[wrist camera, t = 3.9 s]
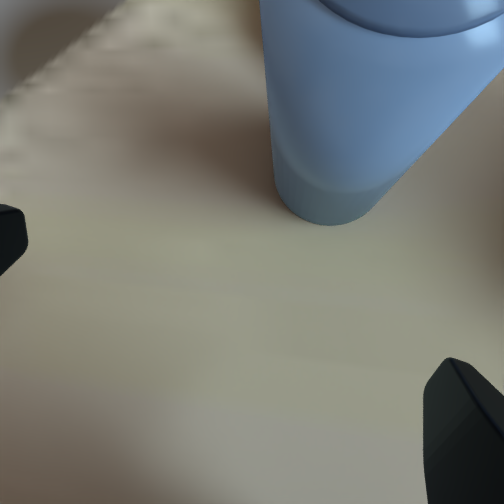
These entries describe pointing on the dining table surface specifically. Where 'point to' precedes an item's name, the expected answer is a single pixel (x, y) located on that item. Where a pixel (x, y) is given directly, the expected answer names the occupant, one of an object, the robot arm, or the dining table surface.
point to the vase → (367, 91)
